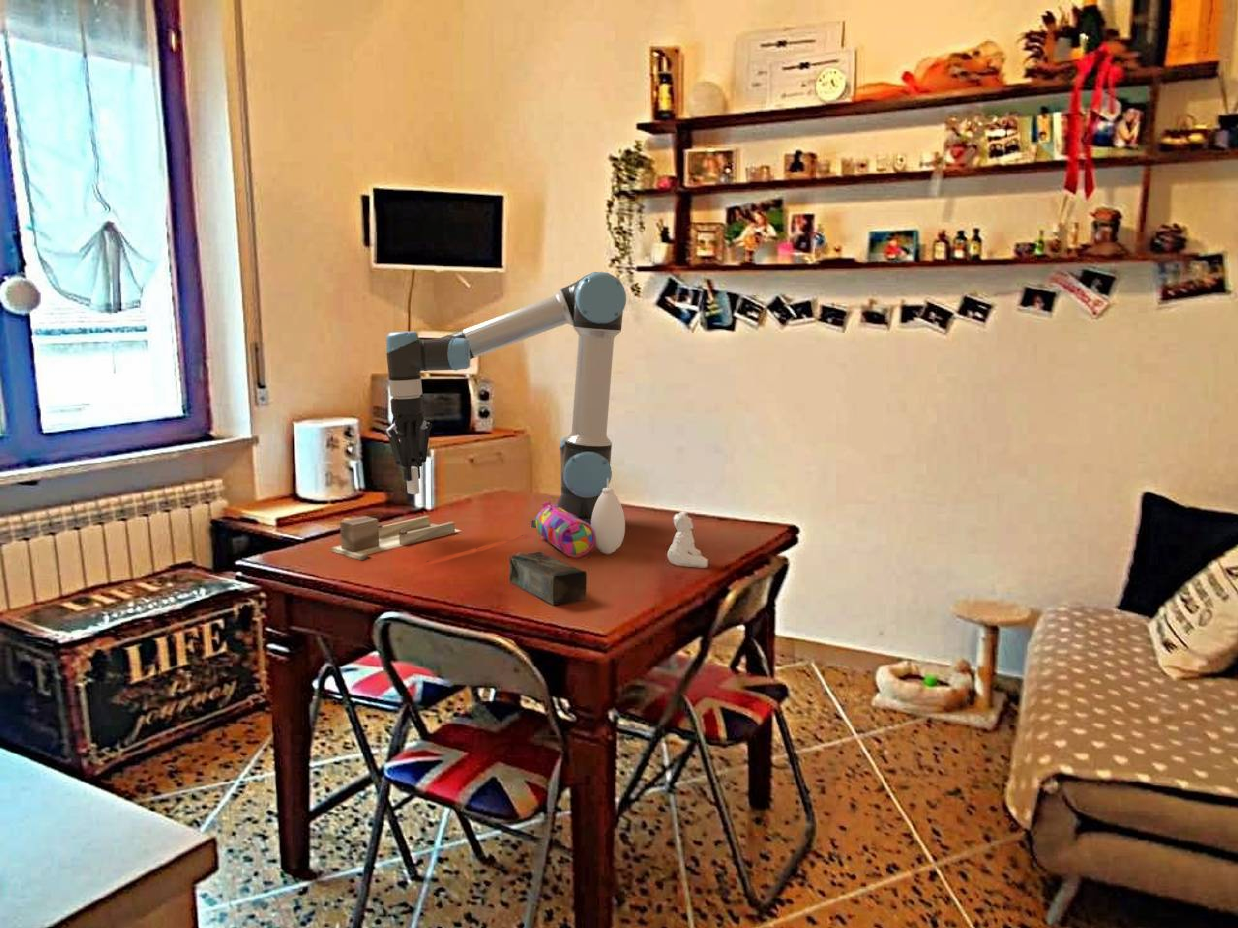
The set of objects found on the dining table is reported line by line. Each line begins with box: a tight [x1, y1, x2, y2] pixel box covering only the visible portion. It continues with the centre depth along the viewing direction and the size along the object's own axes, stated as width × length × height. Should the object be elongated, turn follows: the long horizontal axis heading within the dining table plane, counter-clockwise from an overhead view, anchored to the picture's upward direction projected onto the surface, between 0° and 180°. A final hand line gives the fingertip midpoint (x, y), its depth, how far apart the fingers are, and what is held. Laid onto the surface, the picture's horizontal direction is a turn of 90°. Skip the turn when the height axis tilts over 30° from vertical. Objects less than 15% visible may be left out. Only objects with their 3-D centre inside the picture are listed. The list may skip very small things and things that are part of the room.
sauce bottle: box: [591, 478, 626, 555], centre depth 220 cm, size 8×8×18 cm
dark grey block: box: [509, 551, 588, 606], centre depth 193 cm, size 8×19×7 cm, turn 34°
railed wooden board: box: [331, 515, 462, 561], centre depth 230 cm, size 12×30×4 cm, turn 140°
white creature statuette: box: [666, 510, 709, 569], centre depth 212 cm, size 10×9×12 cm
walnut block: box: [339, 515, 379, 552], centre depth 222 cm, size 5×7×6 cm
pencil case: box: [530, 501, 595, 558], centre depth 226 cm, size 22×9×9 cm, turn 24°
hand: (413, 493), depth 231 cm, fingers closed
